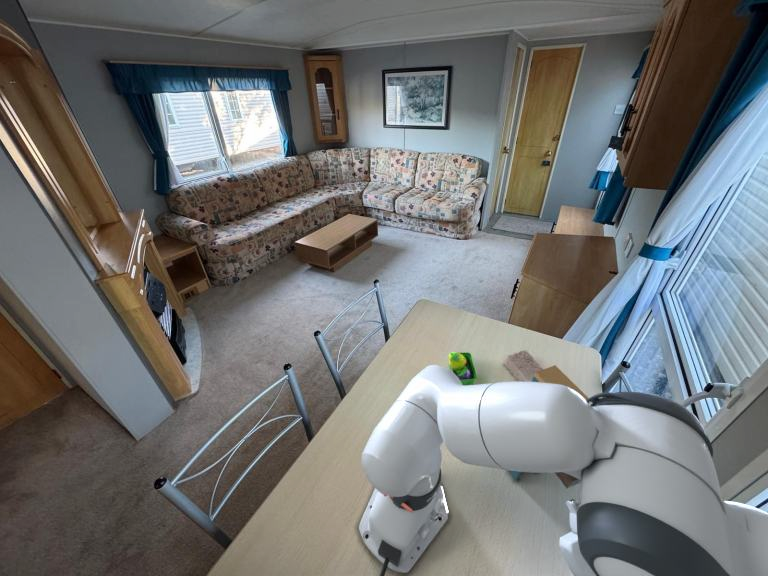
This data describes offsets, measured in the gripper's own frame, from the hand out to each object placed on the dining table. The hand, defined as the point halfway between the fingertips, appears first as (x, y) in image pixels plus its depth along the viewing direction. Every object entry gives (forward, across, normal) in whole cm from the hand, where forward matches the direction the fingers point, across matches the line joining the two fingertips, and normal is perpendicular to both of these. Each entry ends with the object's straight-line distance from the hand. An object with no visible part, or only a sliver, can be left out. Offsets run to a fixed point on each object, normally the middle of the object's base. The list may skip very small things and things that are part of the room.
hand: (590, 491), depth 58 cm
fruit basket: (+29, 0, +40) cm, 49 cm away
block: (+10, 0, +10) cm, 14 cm away
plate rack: (+6, -4, +26) cm, 27 cm away
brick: (+21, -21, +35) cm, 46 cm away
